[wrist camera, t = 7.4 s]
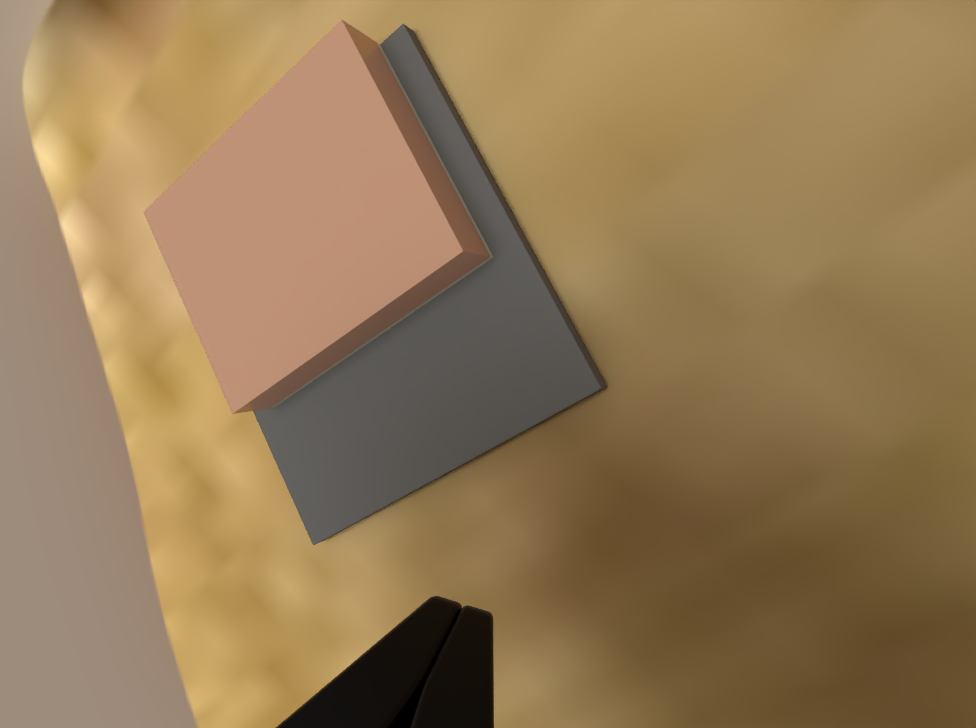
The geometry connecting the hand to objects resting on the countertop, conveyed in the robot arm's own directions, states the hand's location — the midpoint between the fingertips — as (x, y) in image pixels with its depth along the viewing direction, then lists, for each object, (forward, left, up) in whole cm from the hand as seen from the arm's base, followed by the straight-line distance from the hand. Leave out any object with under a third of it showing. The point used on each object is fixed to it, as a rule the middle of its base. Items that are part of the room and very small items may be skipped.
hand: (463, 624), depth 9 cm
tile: (+3, +9, -10) cm, 14 cm away
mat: (+4, +10, -12) cm, 16 cm away
